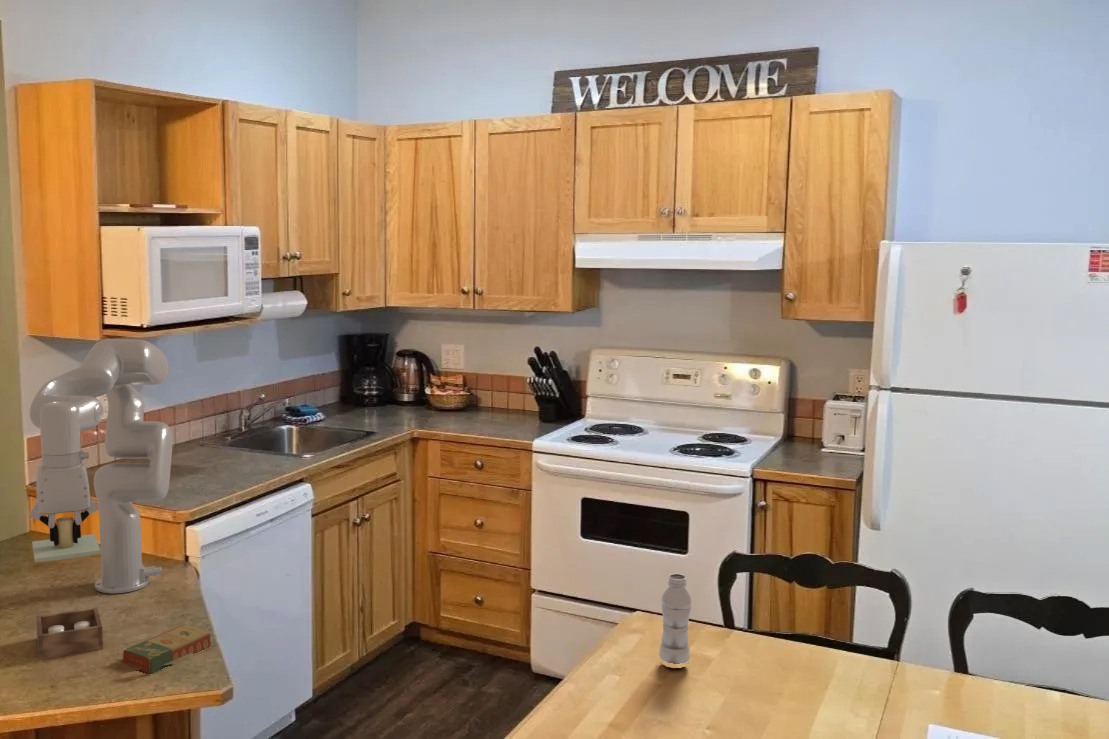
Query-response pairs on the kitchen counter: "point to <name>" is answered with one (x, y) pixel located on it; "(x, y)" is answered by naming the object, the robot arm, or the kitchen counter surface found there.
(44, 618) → the tea box
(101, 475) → the robot arm
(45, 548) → the lid
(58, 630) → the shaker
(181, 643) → the carton
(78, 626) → the shaker
